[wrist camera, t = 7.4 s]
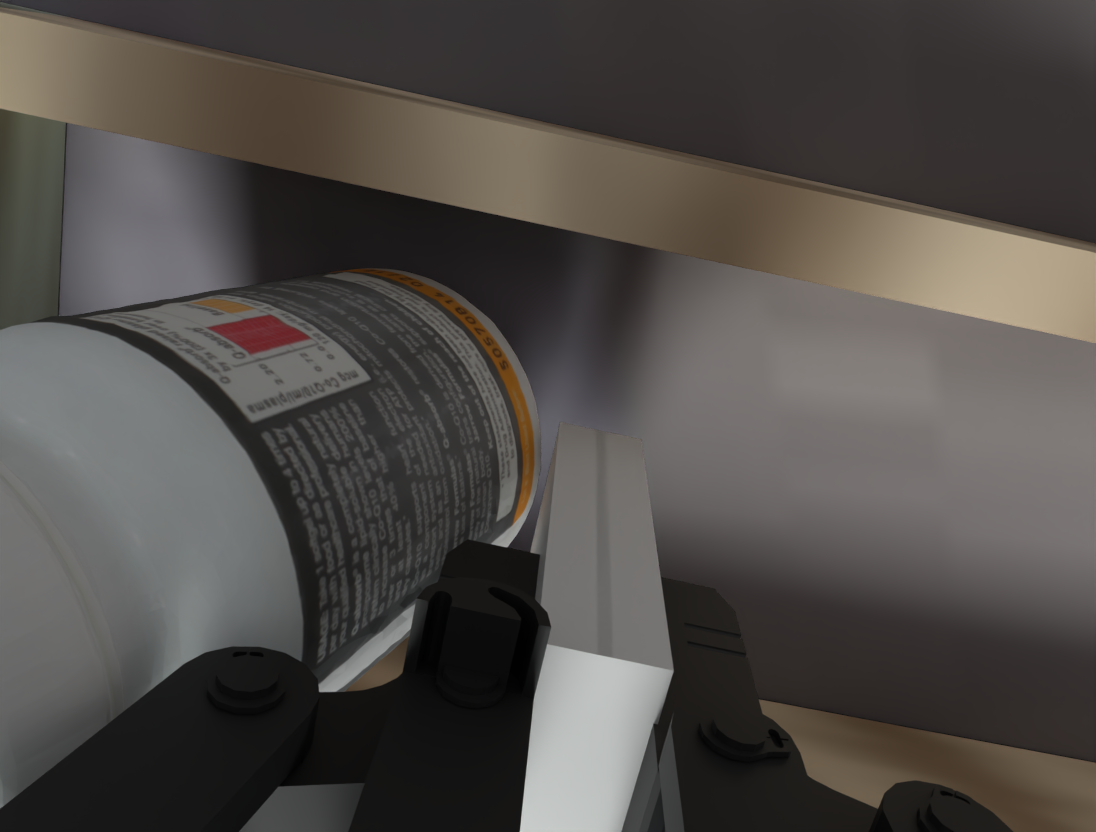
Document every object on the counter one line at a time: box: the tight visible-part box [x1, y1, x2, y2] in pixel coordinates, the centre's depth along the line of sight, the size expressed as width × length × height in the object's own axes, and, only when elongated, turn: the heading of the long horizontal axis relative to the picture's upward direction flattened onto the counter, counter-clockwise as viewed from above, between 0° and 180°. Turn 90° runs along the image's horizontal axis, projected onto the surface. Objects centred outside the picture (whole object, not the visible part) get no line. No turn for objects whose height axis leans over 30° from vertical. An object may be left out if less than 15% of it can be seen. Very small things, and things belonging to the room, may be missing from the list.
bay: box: [0, 2, 1096, 832], centre depth 16 cm, size 24×11×5 cm, turn 78°
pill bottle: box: [0, 268, 541, 808], centre depth 12 cm, size 6×6×10 cm
